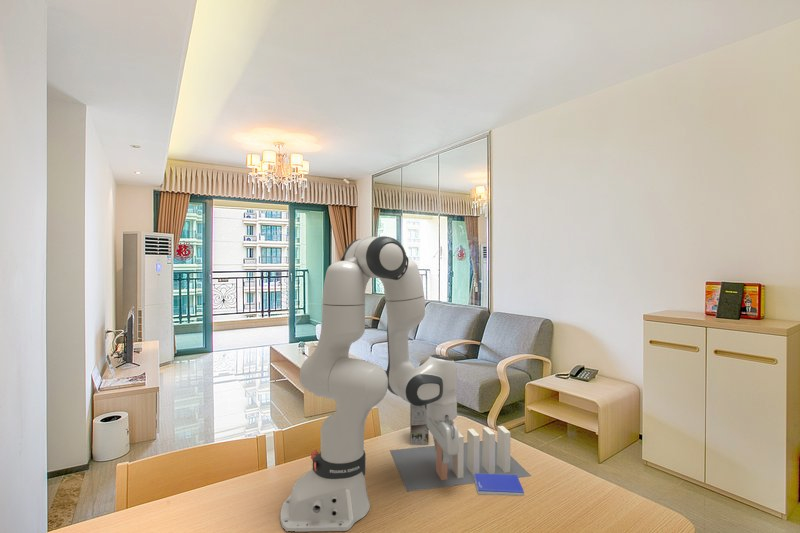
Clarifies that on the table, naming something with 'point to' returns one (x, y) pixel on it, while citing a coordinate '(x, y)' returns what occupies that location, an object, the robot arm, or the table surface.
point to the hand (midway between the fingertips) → (441, 456)
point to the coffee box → (418, 425)
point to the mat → (421, 468)
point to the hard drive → (498, 484)
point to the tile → (440, 463)
